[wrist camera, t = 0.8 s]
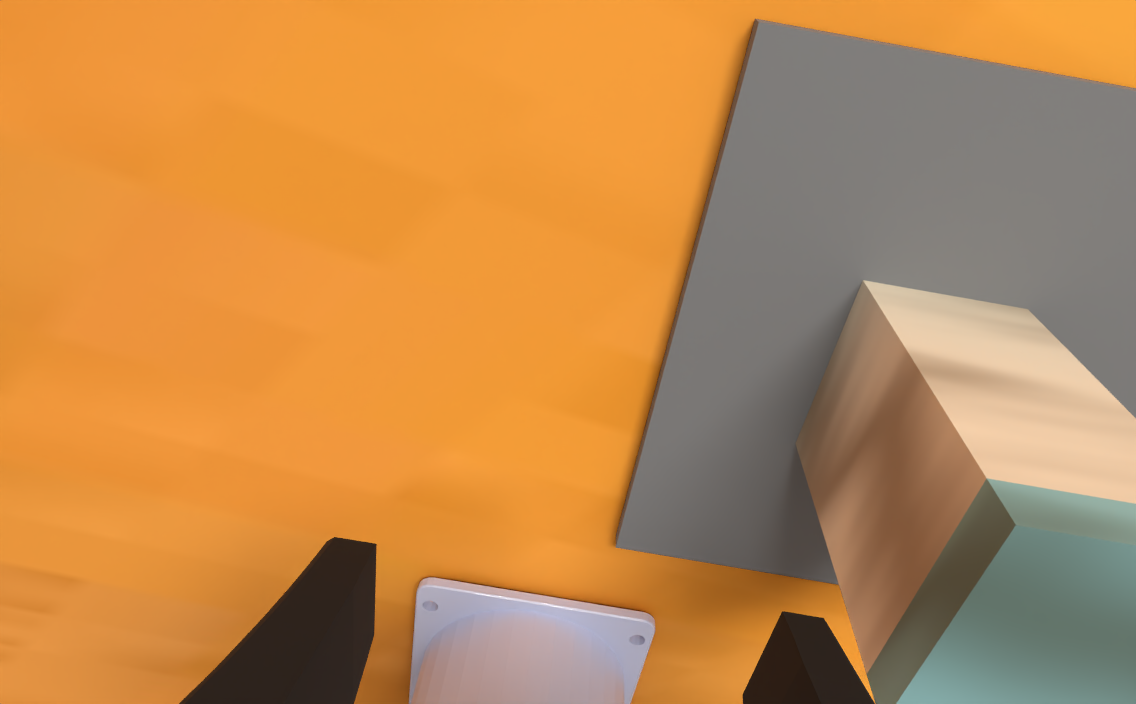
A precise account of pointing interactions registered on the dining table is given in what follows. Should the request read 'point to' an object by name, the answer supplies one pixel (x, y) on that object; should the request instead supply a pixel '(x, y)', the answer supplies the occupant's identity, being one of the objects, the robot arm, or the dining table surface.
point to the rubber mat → (870, 262)
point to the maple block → (975, 505)
